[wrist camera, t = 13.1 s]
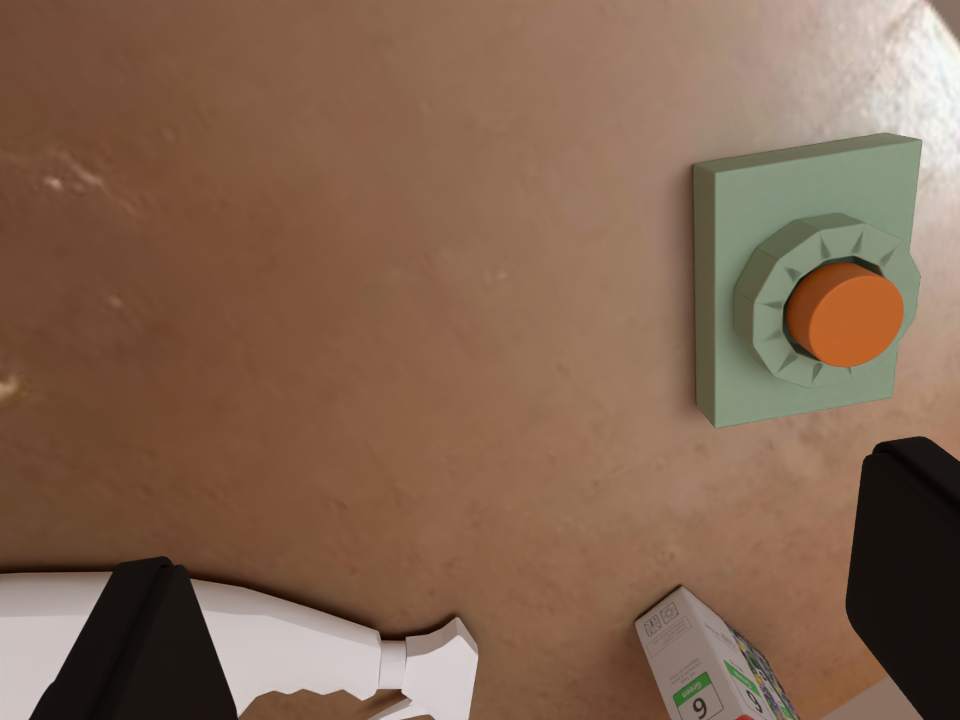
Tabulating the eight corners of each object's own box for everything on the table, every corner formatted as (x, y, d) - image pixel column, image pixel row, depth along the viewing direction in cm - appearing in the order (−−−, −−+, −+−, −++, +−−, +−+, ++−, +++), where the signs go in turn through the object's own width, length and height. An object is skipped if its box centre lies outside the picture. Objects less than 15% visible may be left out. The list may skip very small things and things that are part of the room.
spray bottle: (-54, 552, 32) (487, 573, 36) (-24, 727, 36) (457, 727, 40) (-94, 598, 29) (495, 615, 34) (-56, 781, 34) (463, 776, 38)
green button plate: (692, 163, 29) (735, 181, 25) (887, 132, 29) (957, 145, 25) (695, 405, 33) (732, 451, 29) (863, 376, 33) (920, 417, 30)
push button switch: (787, 269, 27) (811, 284, 25) (880, 254, 27) (910, 267, 25) (783, 356, 28) (806, 375, 27) (871, 341, 28) (899, 359, 27)
